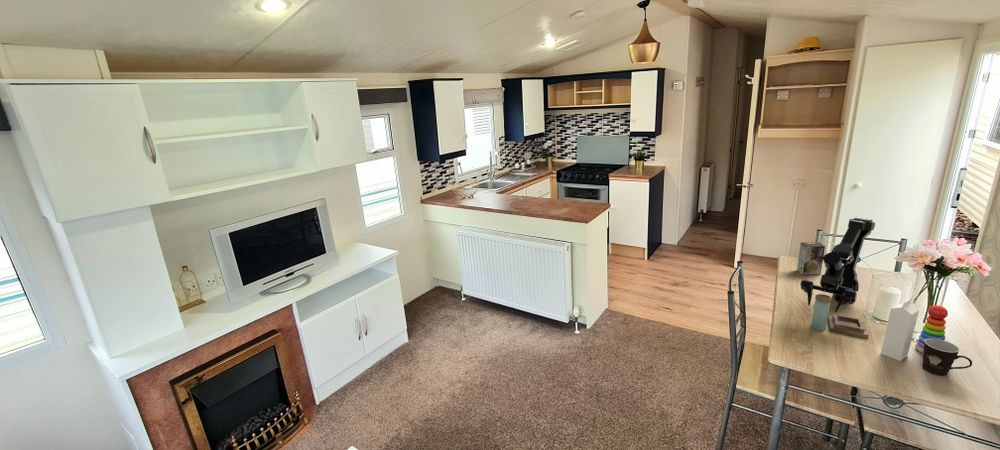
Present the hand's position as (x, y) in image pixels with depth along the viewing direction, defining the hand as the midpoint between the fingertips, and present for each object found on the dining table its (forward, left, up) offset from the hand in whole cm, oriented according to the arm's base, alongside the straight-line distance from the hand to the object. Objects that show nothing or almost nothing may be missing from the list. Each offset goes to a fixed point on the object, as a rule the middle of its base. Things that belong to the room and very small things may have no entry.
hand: (821, 308), depth 181 cm
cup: (0, +1, -8) cm, 9 cm away
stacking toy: (-32, +12, -9) cm, 35 cm away
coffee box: (-15, -60, -9) cm, 63 cm away
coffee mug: (-28, +26, -9) cm, 39 cm away
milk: (-19, +17, -9) cm, 26 cm away
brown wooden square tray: (-11, -1, -8) cm, 14 cm away
